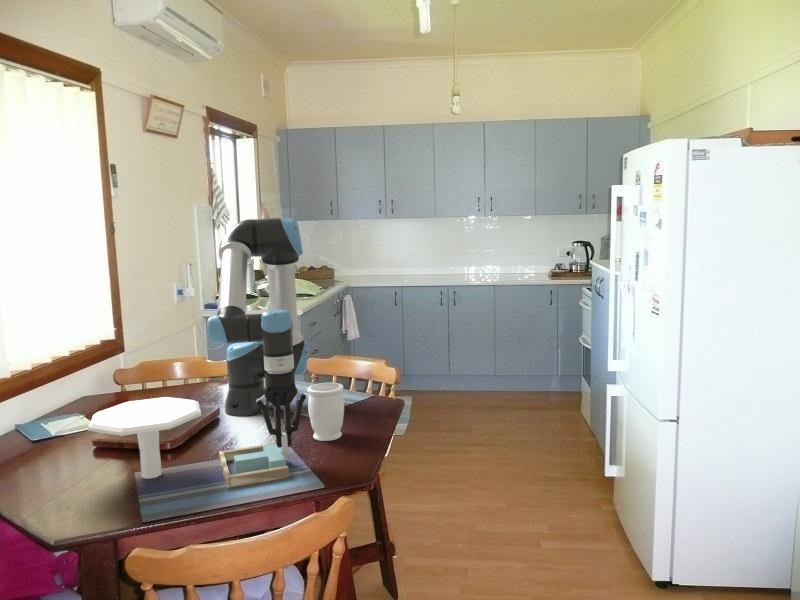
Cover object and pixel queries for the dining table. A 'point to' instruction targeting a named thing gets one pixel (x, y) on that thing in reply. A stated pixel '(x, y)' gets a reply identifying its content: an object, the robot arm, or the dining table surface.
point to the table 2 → (146, 425)
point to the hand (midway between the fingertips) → (284, 458)
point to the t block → (260, 460)
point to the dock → (249, 476)
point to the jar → (326, 410)
